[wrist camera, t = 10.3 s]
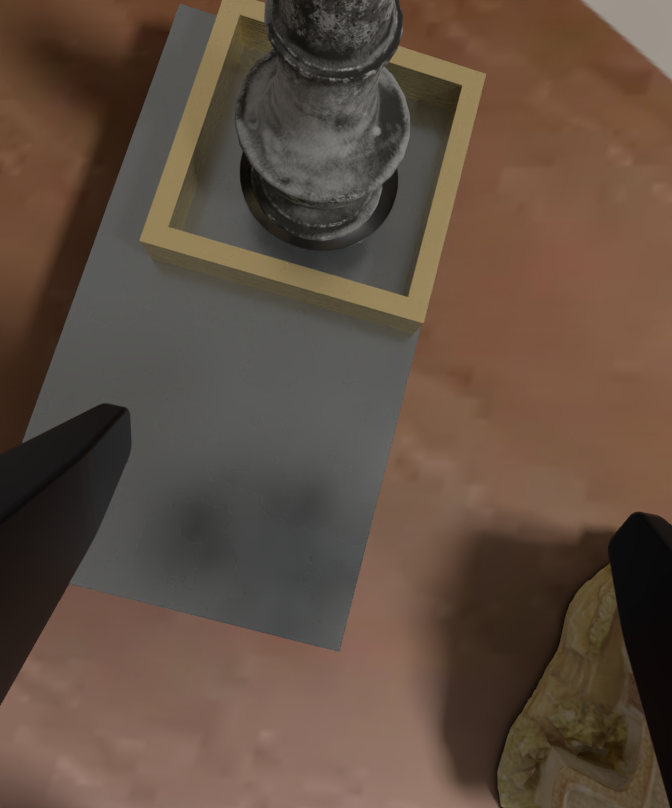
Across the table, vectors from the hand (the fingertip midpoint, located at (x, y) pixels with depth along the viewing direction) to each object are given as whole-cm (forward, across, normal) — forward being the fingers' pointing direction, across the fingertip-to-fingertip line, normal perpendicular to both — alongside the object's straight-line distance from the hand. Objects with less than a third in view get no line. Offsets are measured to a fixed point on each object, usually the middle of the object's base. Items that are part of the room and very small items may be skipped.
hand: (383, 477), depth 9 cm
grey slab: (+13, +4, +5) cm, 15 cm away
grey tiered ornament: (+15, +3, -1) cm, 16 cm away
